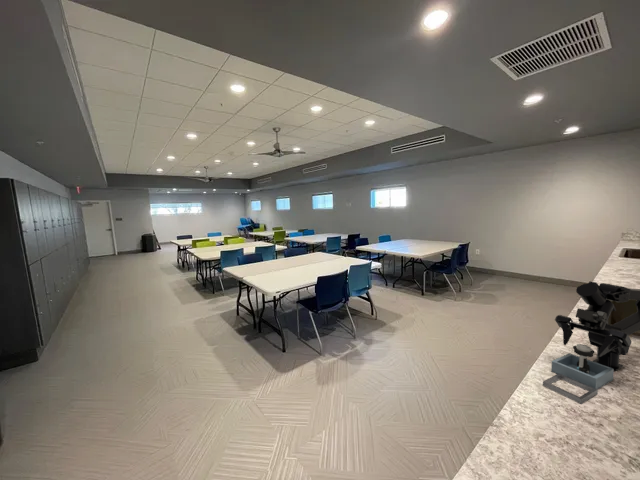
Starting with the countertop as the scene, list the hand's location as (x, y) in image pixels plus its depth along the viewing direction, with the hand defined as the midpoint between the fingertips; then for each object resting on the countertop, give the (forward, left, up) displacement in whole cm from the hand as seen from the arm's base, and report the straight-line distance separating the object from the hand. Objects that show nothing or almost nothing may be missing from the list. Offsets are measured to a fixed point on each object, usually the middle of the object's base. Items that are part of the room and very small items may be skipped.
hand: (580, 350), depth 93 cm
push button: (-1, 0, -9) cm, 10 cm away
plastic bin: (-1, 0, -10) cm, 10 cm away
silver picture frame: (+11, +2, -10) cm, 15 cm away
